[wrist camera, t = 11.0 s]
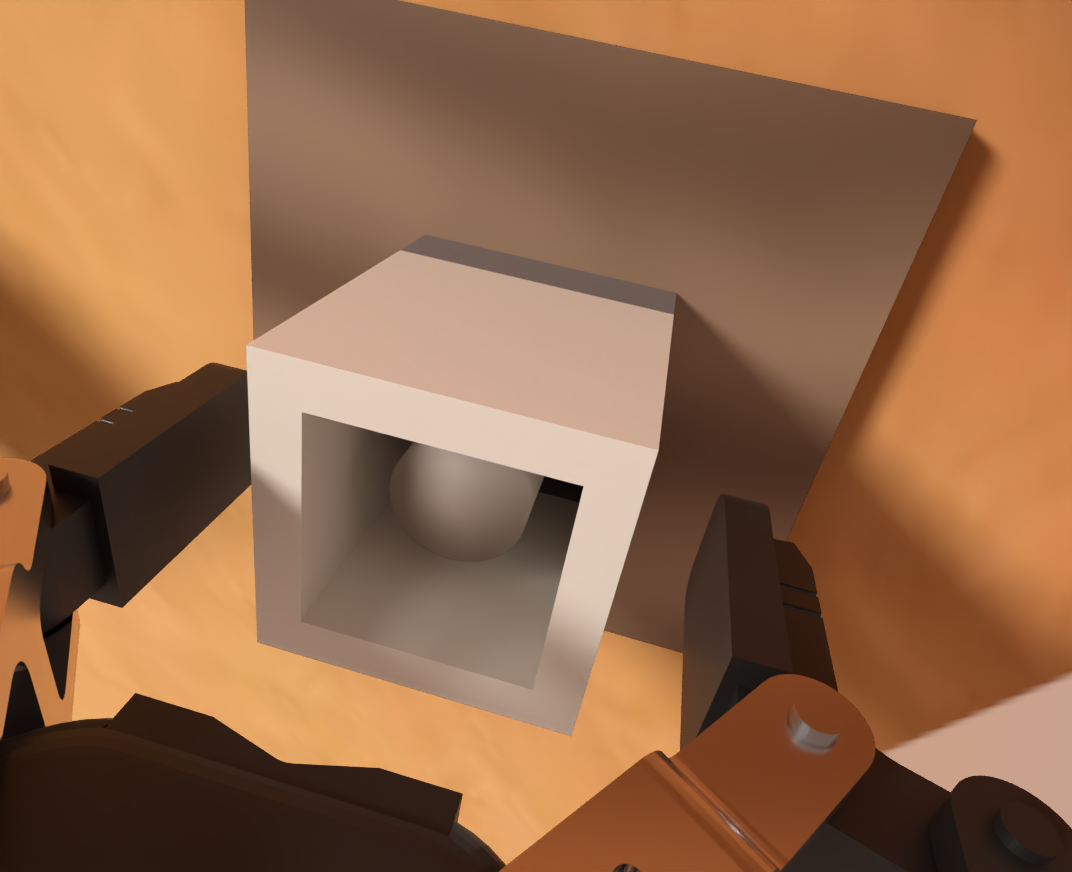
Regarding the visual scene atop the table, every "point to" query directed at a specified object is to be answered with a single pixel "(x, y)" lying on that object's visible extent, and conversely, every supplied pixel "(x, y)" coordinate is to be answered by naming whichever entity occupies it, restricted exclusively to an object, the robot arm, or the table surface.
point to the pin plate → (598, 238)
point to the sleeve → (466, 428)
